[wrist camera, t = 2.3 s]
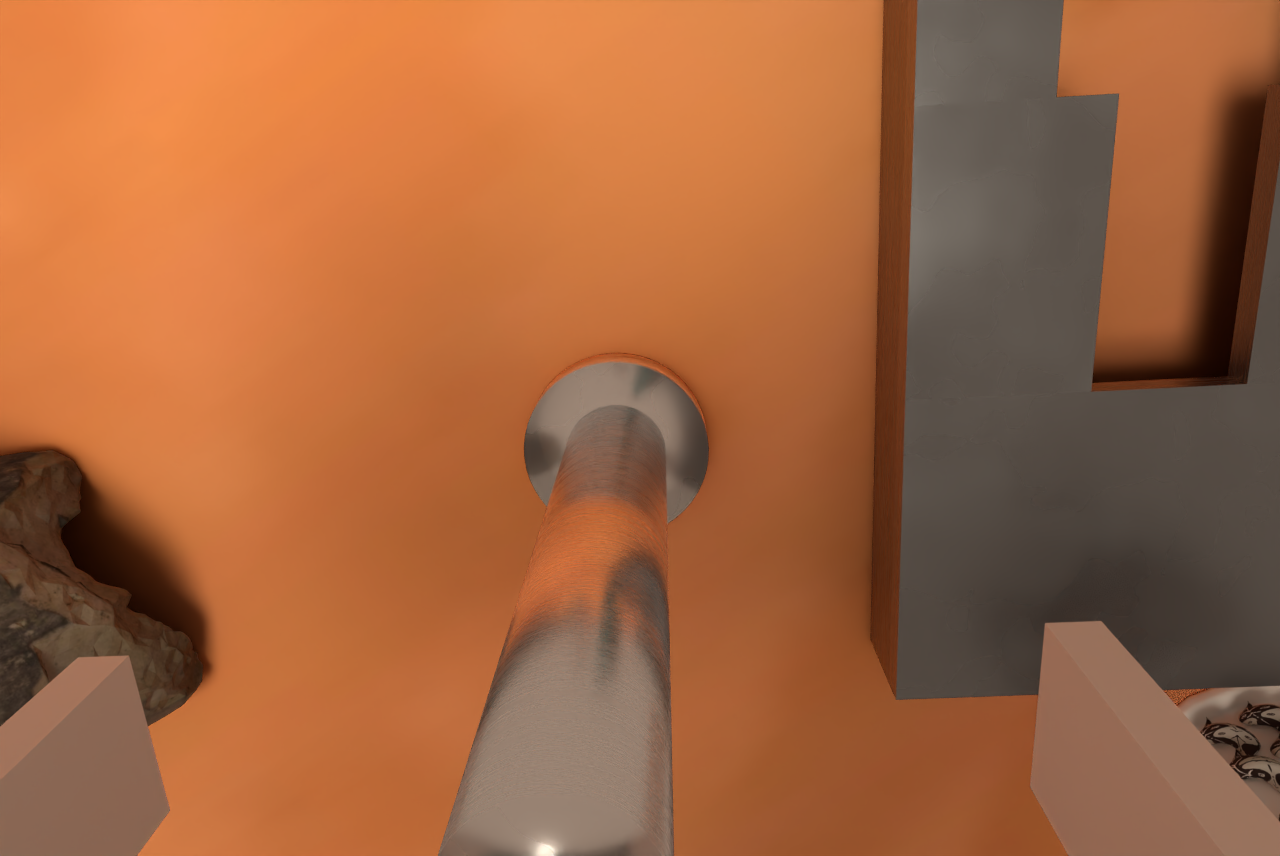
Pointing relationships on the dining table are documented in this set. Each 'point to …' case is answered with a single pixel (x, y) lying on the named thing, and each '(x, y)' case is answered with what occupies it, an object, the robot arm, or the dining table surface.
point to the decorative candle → (1243, 734)
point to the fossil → (70, 599)
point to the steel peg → (589, 627)
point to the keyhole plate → (1050, 389)
